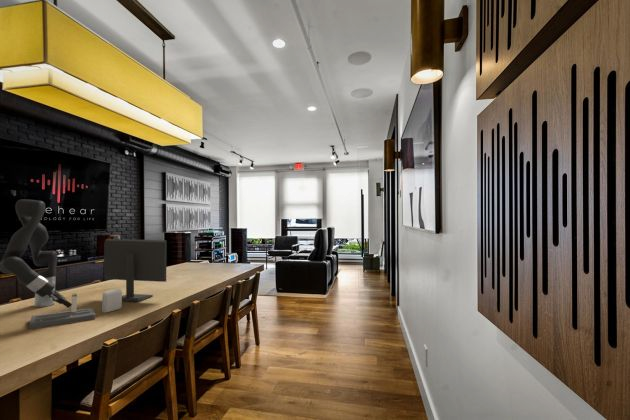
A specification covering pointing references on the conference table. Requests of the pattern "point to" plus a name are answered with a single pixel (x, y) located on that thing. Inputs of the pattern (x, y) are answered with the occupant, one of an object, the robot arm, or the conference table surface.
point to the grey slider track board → (61, 318)
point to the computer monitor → (135, 263)
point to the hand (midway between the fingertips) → (70, 306)
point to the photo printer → (111, 300)
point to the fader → (74, 303)
